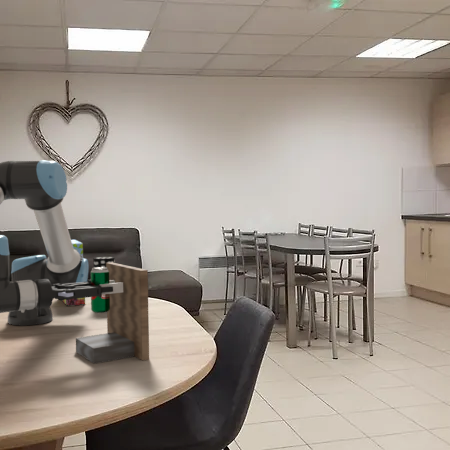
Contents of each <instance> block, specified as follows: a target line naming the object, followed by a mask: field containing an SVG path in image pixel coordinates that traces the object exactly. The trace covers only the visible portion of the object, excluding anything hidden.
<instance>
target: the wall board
mask: <svg viewBox="0 0 450 450" xmlns="http://www.w3.org/2000/svg"><path fill="white" fill-rule="evenodd" d="M106 267H107V268H108V270H109V281H110V280H115V283H120V282H123V292H122V293H112V294H110V310H109V311H108V312H106V319H107V320H106V322H107V333H99V334H94V335H86V336H81V337H75V353H77V354H78V355H79V356H82V357H83V358H85V359H87V360H88V361H89V362H91V363H92V364H99V363H105V362H111V361H115V360H116V361H117V360H121V359H126V358H133V356H134V357H135V358H137V359H138V360H141V361H148V360H150V333H149V331H150V330H149V329H150V328H149V325H150V324H149V322H150V321H149V276H148V275H149V274H148V271H149V270H148V269H144V268H141V267H135V266H130V265H125V264H121V263H116V262H115V263H113V262H111V263H106Z"/></svg>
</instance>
